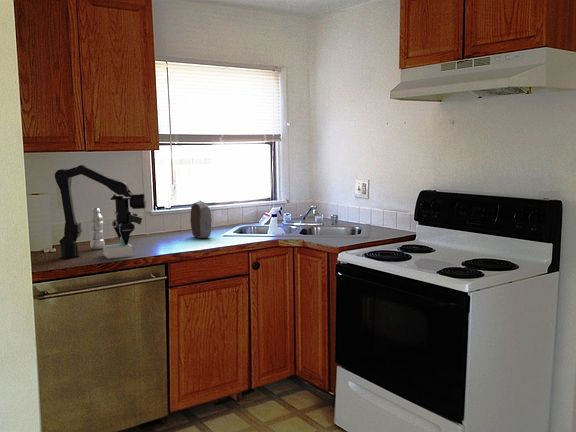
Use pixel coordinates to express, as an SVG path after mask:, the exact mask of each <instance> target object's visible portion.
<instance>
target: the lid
mask: <svg viewBox="0 0 576 432" xmlns="http://www.w3.org/2000/svg"><path fill="white" fill-rule="evenodd" d="M105 245H106V247H107V248H115V247H125V246H130V245H131V244H130V245H125V244H124V241H123V239H122V237H120V240H119V243H115V244H114V243H113V244H105Z"/></svg>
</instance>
